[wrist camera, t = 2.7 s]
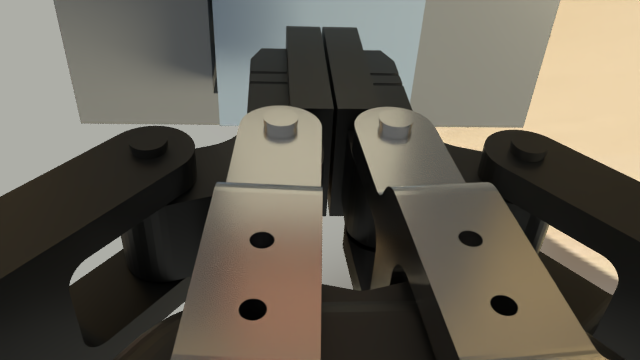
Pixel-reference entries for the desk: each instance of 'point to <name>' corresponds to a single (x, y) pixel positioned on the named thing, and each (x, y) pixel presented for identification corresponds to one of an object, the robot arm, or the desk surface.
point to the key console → (201, 76)
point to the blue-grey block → (306, 10)
